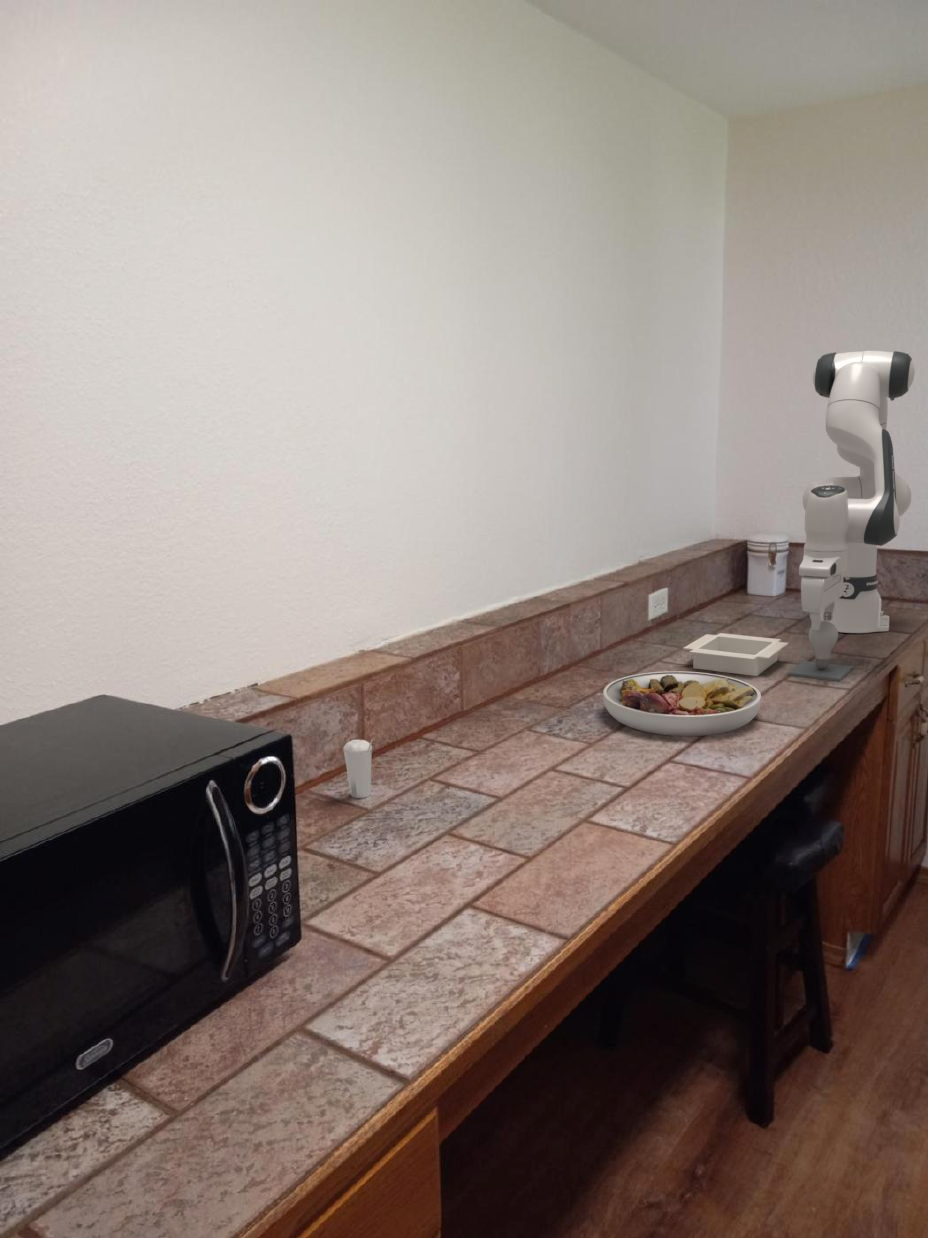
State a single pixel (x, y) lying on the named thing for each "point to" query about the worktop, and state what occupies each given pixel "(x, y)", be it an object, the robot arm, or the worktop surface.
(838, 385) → the robot arm
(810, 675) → the mat
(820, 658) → the lightbulb
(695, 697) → the bowl
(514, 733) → the worktop surface
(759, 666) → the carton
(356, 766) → the milkshake
